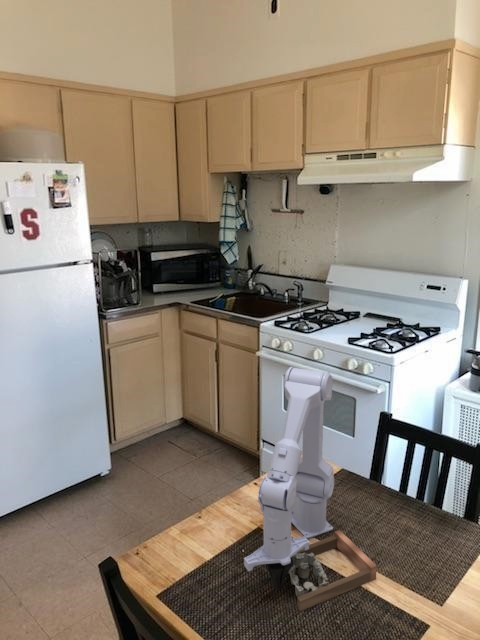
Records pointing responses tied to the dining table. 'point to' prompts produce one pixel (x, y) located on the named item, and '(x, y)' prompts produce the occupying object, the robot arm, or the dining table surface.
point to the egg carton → (306, 573)
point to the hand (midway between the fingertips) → (277, 586)
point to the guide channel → (341, 585)
